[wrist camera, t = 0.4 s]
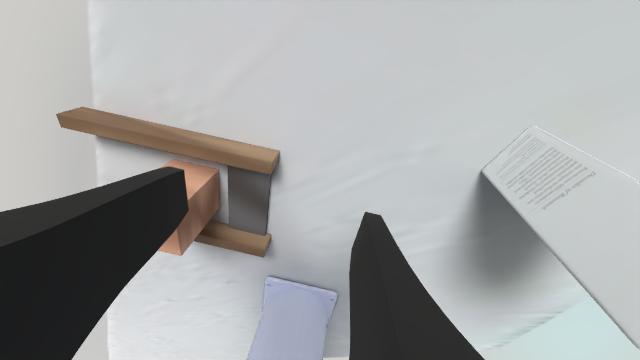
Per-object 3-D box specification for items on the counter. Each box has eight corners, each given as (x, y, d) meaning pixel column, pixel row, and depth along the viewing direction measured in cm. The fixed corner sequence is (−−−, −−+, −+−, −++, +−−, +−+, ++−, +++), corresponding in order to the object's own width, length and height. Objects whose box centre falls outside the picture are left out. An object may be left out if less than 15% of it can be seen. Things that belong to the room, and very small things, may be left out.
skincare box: (597, 167, 17) (968, 380, 7) (538, 208, 19) (747, 417, 9) (531, 120, 16) (843, 283, 6) (476, 169, 18) (630, 352, 8)
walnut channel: (270, 241, 25) (263, 257, 23) (114, 205, 25) (97, 218, 23) (279, 151, 19) (271, 162, 18) (82, 106, 20) (56, 114, 18)
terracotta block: (220, 206, 23) (181, 256, 18) (179, 196, 23) (128, 243, 18) (219, 169, 21) (174, 213, 16) (173, 159, 21) (114, 200, 16)
